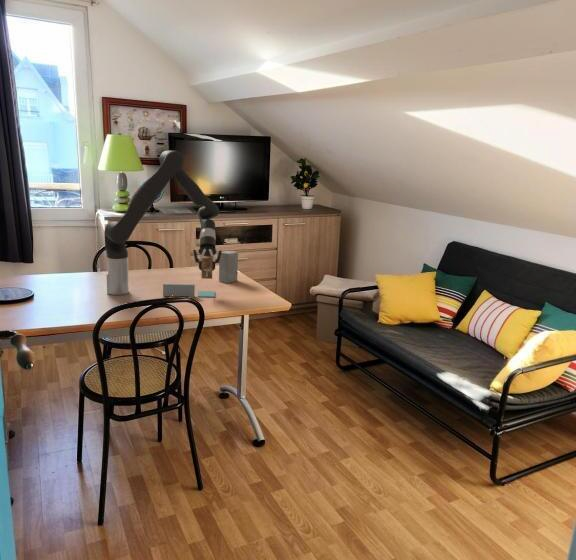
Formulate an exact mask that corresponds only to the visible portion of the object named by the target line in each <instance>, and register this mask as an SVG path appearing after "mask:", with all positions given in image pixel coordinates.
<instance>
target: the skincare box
mask: <svg viewBox="0 0 576 560" xmlns="http://www.w3.org/2000/svg"><path fill="white" fill-rule="evenodd" d="M238 264H239V252H237V251H233V250H227V251H226V250H224V251H222V254H221V258H220V261H219V263H218V281H219V282H222V283H225V284H230V283H235V282H238V272H239V271H238V268H239V266H238Z"/></svg>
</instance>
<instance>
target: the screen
mask: <svg viewBox="0 0 576 560" xmlns="http://www.w3.org/2000/svg"><path fill="white" fill-rule="evenodd" d="M195 288H196V285H195V283H192V284H191V283H162V297H163V296H172V295H173V296H189V297H188V298H195V296H196V295H195V294H196V292H195Z"/></svg>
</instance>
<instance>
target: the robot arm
mask: <svg viewBox="0 0 576 560" xmlns="http://www.w3.org/2000/svg"><path fill="white" fill-rule="evenodd" d="M184 163H185V162H184V156H183V154H182V153H181V152H179V151H177V150H164V151H163V152H162V153H161V154H160V155H159V164H160V166H159V167H158V168H157V170H156V171H155V172H154V173H153V174H152V175H151V176H150V177H148V178H147V179H145V181H143V183H141V184H140V186H139V187H138V188H137V189H136V190H135V192H134V194H133V195H132V196H131V198H130V202H129V205H128V206H127V207H128V208H127V210H126V211H125V213H124V214H123V216H122V217H121V218H120V220H119V221H111V222H108V223H107V225H106V226H105V228H104V246H105V251H106V262H107V264H106V265H107V267H106V268H107V271H106V272H107V273H106V294H109V295H112V296H121V295H126V294H128V293H129V291H130V290H129V288H130V287H129V251H128V249H127V247H126V242H127V241H128V240H129V239H130V237H131V236H132V234H133V232H134V230H135V229H136V227H137V225H138V224H139V222H140V221H141V219H142V218H143V217H144V216H145V214H146V213H147V212H148V210H149V209H150V208H151V207H152V205H154V203H155V201H157V199H158V198H159V196H160V195H161V193H162V192H163V191H164V189H165V187H166V186H167V185H168V183H169V182H170V181H171V179H172V178H173V179H174V180H175V181H176V182H177V183H178V185H179V186H180V188H182V190H183V191H184V193H185V194H186V195H187V197H188V199H189V200H190V201H191V202H192V204H193V205H195V206H196V207H197V206H198V207H199V206H201V207H199V209H198V210H197V215H198V219H199V222H200V223H199V224H200V233H199V248H198V249H197V250H196V249H193V250H192V252H193V253H192V254H193V258H194V262H195V263H196V264H197V263H198V269H199V271H202V256H204V255H206V256H213V261H212V272H214V270H216V264H219V261H220V258H221V254H222V252H223V251H222V250H221V249H220V250H217V248H216V240H217V239H216V223H215V221H214V220H213V218H215V217H218V215H219V214H220V209H219V206H218V205H217V204H216V202H214V201H212V200H211V199H210V198H209V197H208V196H206V195H205V193H204V191H203V190H202V189H201V187H200V186H199V185H198V184H197V183H196V182H195V181H194V179H192V178H191V177H190V176H189V175H188V173H186V171H185V170H184V169H183V165H184ZM198 254H199V255H200V256H199V258H198ZM215 255H217V257H216V259H215Z"/></svg>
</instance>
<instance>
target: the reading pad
mask: <svg viewBox="0 0 576 560" xmlns="http://www.w3.org/2000/svg"><path fill="white" fill-rule="evenodd" d="M215 295H216V294H215V291H214V290H208V291H207V290H198V292H197V298H215V297H216V296H215Z"/></svg>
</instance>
